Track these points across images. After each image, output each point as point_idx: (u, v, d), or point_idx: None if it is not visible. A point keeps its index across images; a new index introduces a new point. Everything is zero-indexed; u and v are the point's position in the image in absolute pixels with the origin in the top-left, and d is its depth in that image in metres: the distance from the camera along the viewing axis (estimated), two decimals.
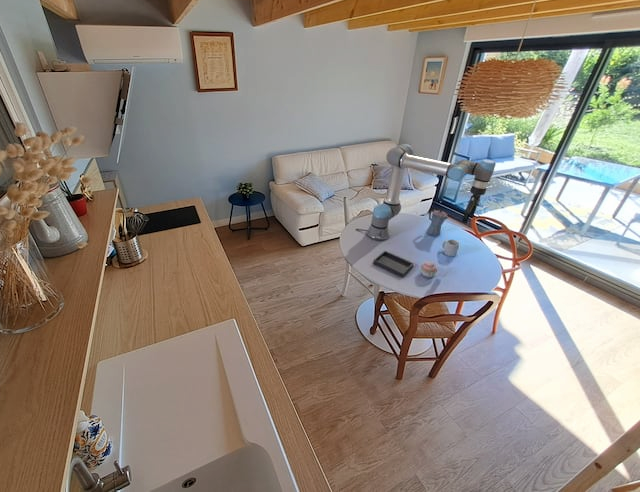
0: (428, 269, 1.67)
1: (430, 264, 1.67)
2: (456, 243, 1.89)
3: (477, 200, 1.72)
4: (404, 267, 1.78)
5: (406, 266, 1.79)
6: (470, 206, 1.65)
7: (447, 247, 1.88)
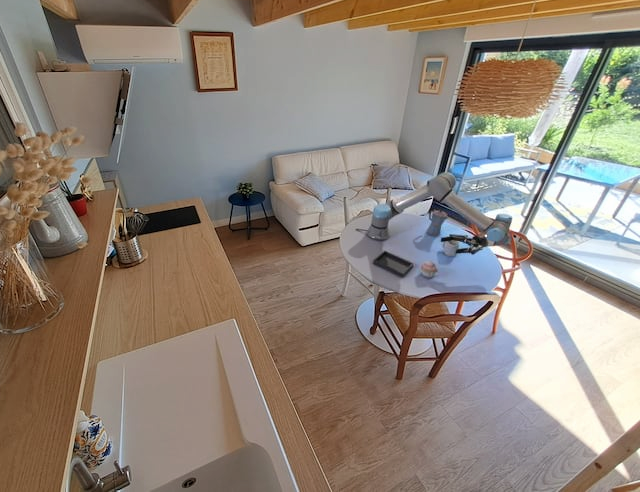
0: (428, 269, 1.67)
1: (430, 264, 1.67)
2: (456, 243, 1.89)
3: (463, 242, 1.70)
4: (404, 267, 1.78)
5: (406, 266, 1.79)
6: (477, 251, 1.60)
7: (447, 247, 1.88)
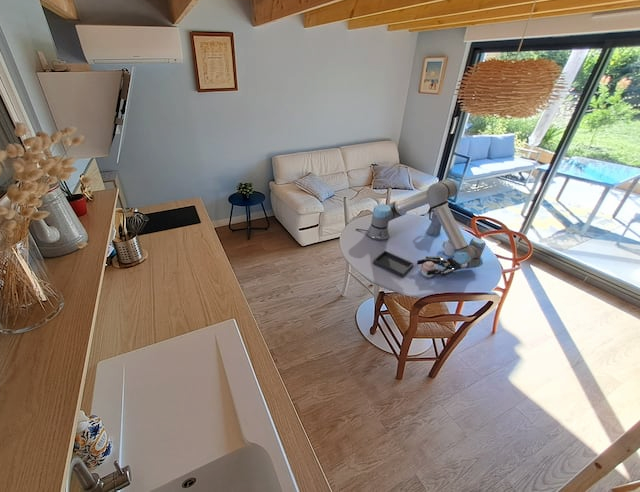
0: (428, 269, 1.67)
1: (430, 264, 1.67)
2: None
3: (438, 264, 1.74)
4: (404, 267, 1.78)
5: (406, 266, 1.79)
6: (448, 273, 1.65)
7: (447, 247, 1.88)
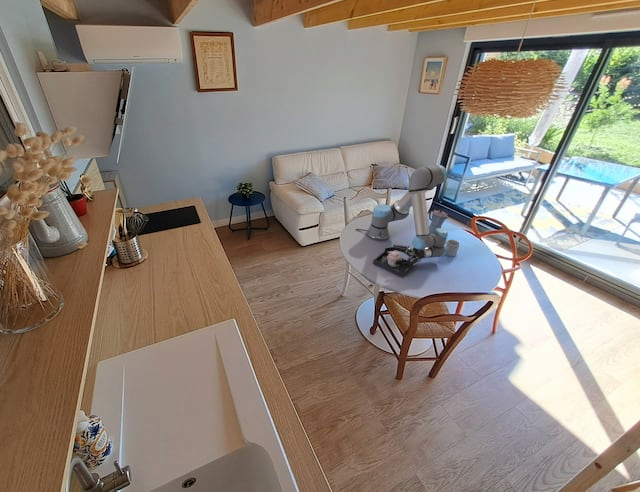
0: (393, 259, 1.75)
1: (395, 254, 1.75)
2: (456, 243, 1.89)
3: (404, 252, 1.82)
4: (404, 267, 1.78)
5: (406, 266, 1.79)
6: (414, 262, 1.72)
7: (447, 247, 1.88)
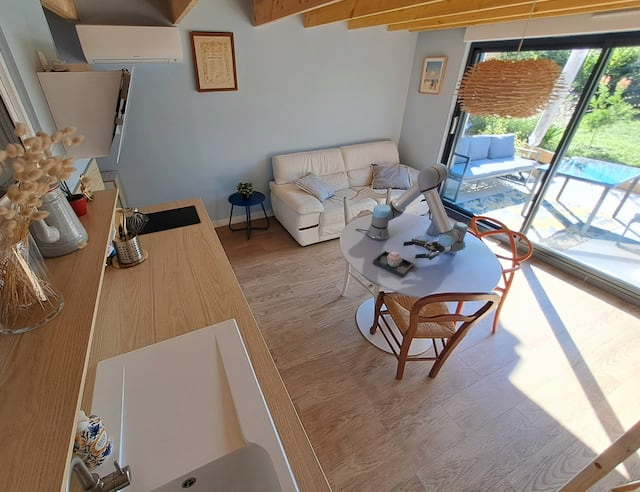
0: (393, 259, 1.75)
1: (395, 254, 1.75)
2: None
3: (423, 246, 1.82)
4: (404, 267, 1.78)
5: (406, 266, 1.79)
6: (434, 256, 1.72)
7: None
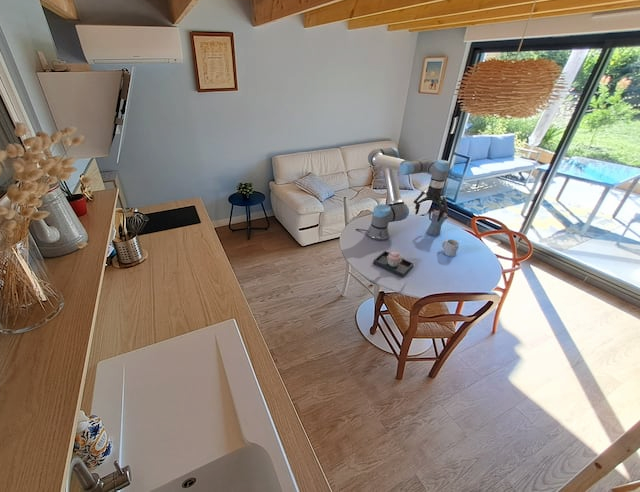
0: (393, 259, 1.75)
1: (395, 254, 1.75)
2: (456, 243, 1.89)
3: (436, 202, 1.72)
4: (404, 267, 1.78)
5: (406, 266, 1.79)
6: None
7: (446, 247, 1.88)
